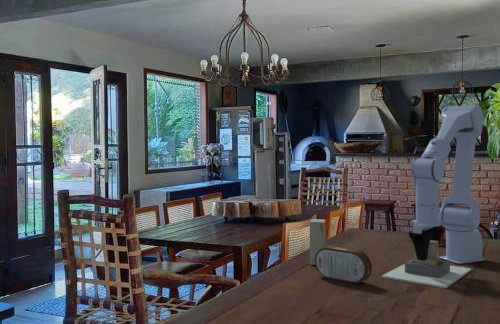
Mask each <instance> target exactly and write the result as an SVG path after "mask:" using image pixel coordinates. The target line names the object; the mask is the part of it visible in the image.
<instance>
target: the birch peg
mask: <svg viewBox="0 0 500 324" xmlns="http://www.w3.org/2000/svg"><path fill="white" fill-rule="evenodd" d="M413 254H414V256H413V258H414V263H416V264H423V265H430V266H437V267H438V260H439V249H438V241H432V240H430V243H429V248H428V256H427V260H426V261H424V260H418V259H417V256H416V252H415V248H414V247H413Z"/></svg>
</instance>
